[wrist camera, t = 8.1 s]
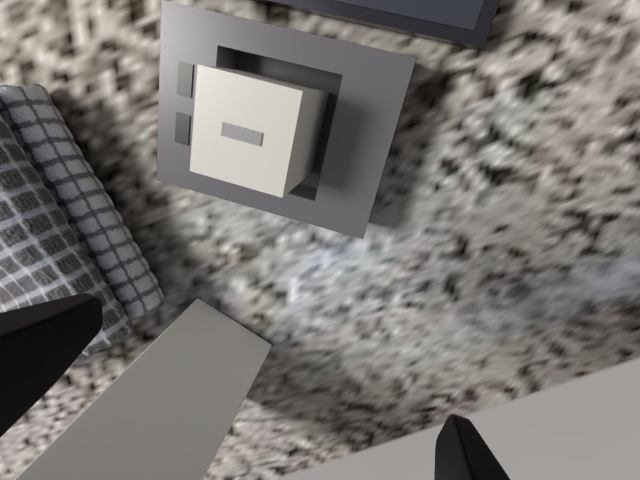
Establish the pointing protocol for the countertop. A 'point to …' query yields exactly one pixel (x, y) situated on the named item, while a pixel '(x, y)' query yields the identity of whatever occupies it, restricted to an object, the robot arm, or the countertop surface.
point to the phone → (410, 17)
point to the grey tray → (297, 67)
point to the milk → (162, 406)
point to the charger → (255, 129)
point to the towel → (63, 223)
